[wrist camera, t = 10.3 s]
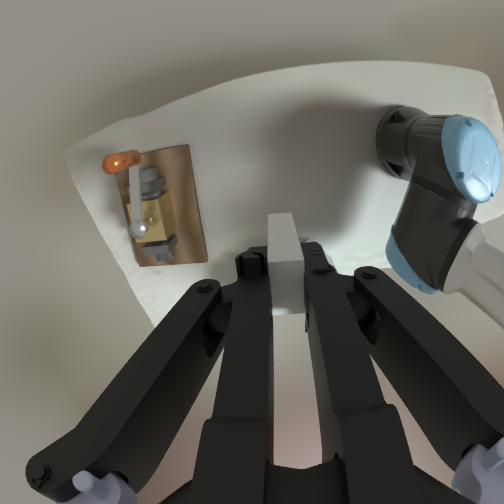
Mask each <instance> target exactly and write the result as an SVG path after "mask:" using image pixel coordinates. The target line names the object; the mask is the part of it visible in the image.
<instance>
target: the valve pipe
mask: <svg viewBox="0 0 504 504" xmlns="http://www.w3.org/2000/svg"><path fill="white" fill-rule="evenodd" d="M141 174H142V200H143V216H144V220H145V221H146V222H147V223H148V226H149V230H148V232H147V234H146V235H145V236H144V237H143V238H141V239H135V240H136V243H141V242H147V243H146V244H145V245H144V246H143V247H142V251H143V254H144V255H154V259H155V261H157V262H163V261H167V260H170V259H172V258H173V257H174V256H175V252H174V246H175V245H176V244H177V242H178V238H177V234H173V235H171V234H172V233H173V232H174V230H175V229H176V228H177V225H176V220H175V215H174V210H173V205H172V200H171V195H170V191H165V192H161V187H163V186H164V185H166V178H165V176H163V177H159V175H158V170H157V167H151V168H147V169H143V170H141ZM127 189H128V194H129V195H130V186H128V187H127ZM127 208H128V212H129V216H130V221H131V222H132V215H131V202H130V203H128V204H127Z"/></svg>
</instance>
